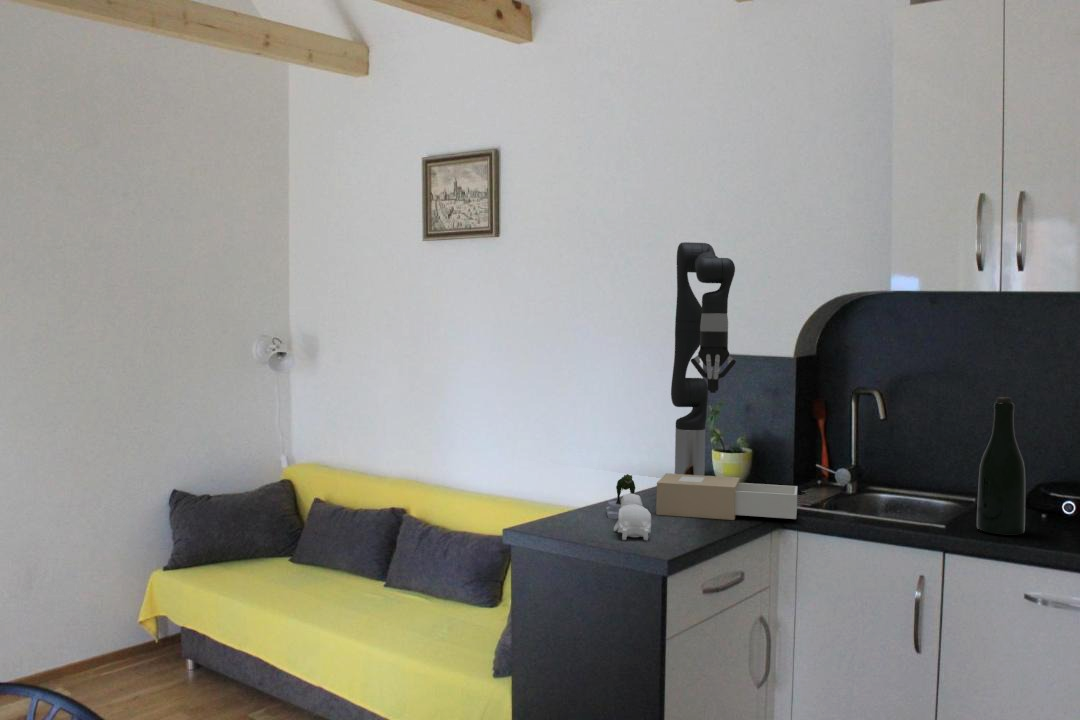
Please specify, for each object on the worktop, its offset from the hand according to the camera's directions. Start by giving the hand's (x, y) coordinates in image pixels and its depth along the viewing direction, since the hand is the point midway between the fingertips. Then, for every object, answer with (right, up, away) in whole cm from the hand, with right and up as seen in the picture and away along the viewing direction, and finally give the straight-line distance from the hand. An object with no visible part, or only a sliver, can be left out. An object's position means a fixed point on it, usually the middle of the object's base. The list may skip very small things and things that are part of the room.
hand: (712, 392), depth 254 cm
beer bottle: (+64, -33, -31) cm, 78 cm away
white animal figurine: (-26, -32, -37) cm, 56 cm away
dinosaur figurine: (-26, -32, -14) cm, 43 cm away
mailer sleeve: (-6, -31, -10) cm, 33 cm away
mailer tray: (+9, -31, -14) cm, 35 cm away
